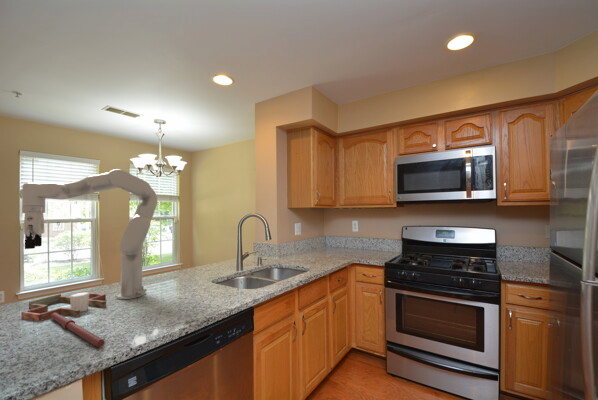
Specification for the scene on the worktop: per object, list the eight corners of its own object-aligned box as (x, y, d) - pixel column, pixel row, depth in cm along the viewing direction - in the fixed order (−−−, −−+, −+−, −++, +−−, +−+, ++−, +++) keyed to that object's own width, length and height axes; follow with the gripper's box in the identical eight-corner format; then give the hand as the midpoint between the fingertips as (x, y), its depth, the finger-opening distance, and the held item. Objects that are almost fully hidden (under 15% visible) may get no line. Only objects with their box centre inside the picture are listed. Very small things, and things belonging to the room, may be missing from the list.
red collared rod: (48, 320, 107) (48, 312, 108) (58, 317, 110) (59, 310, 110) (94, 350, 83) (95, 340, 83) (106, 346, 86) (106, 336, 86)
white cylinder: (93, 307, 122) (93, 291, 122) (79, 312, 115) (79, 296, 115) (79, 306, 122) (80, 291, 123) (65, 312, 115) (65, 296, 116)
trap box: (121, 301, 129) (121, 294, 129) (56, 324, 103) (56, 315, 103) (76, 296, 138) (76, 289, 138) (6, 315, 113) (6, 307, 113)
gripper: (39, 209, 116) (39, 248, 115) (49, 210, 130) (49, 244, 130) (15, 209, 112) (14, 250, 111) (28, 210, 126) (28, 246, 126)
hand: (33, 247), depth 120 cm, fingers open, 9 cm apart
